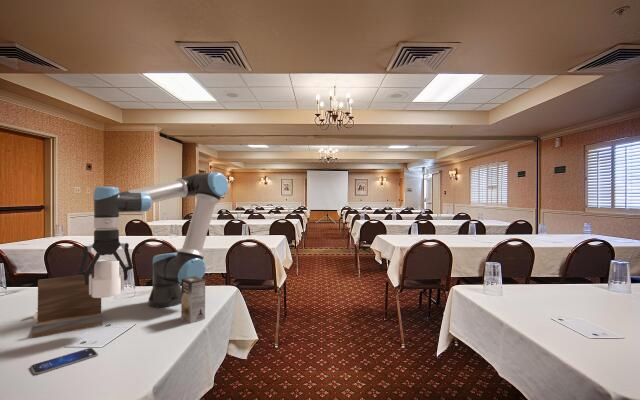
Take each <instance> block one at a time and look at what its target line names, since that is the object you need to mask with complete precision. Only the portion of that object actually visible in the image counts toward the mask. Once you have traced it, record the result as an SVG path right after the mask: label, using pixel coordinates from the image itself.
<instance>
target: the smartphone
mask: <svg viewBox="0 0 640 400" xmlns="http://www.w3.org/2000/svg"><path fill="white" fill-rule="evenodd" d="M98 356H99V353H98V352H97V351H96V350H95V349H94V348H92V347H89V348H85V349H82V350H79V351H75V352H72V353H69V354H68V353H67V354H64V355H61V356H58V357H54V358H51V359H47V360H44V361H40V362H37V363H34V364H32V365H30V366H29V370H30V371H31V373H32V375H33V376H39V375H42V374H46V373H49V372H52V371H55V370H59V369H61V368H64V367H68V366H71V365H75V364H76V363H80V362H84V361H86V360H90V359H93V358H96V357H98Z"/></svg>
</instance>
